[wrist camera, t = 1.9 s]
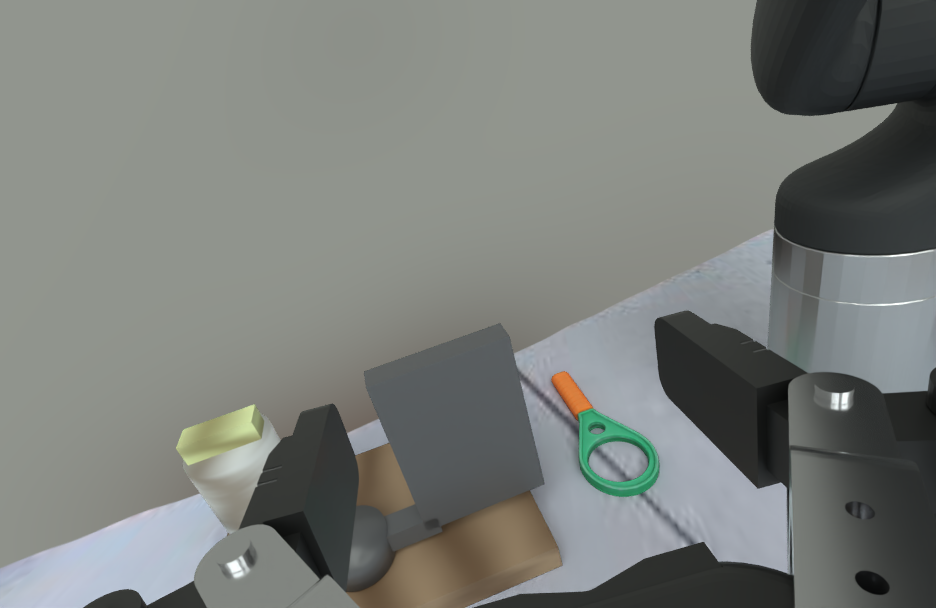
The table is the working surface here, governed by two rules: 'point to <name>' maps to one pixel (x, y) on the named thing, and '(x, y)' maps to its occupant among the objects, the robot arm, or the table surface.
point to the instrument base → (384, 487)
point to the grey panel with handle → (446, 443)
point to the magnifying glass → (604, 440)
